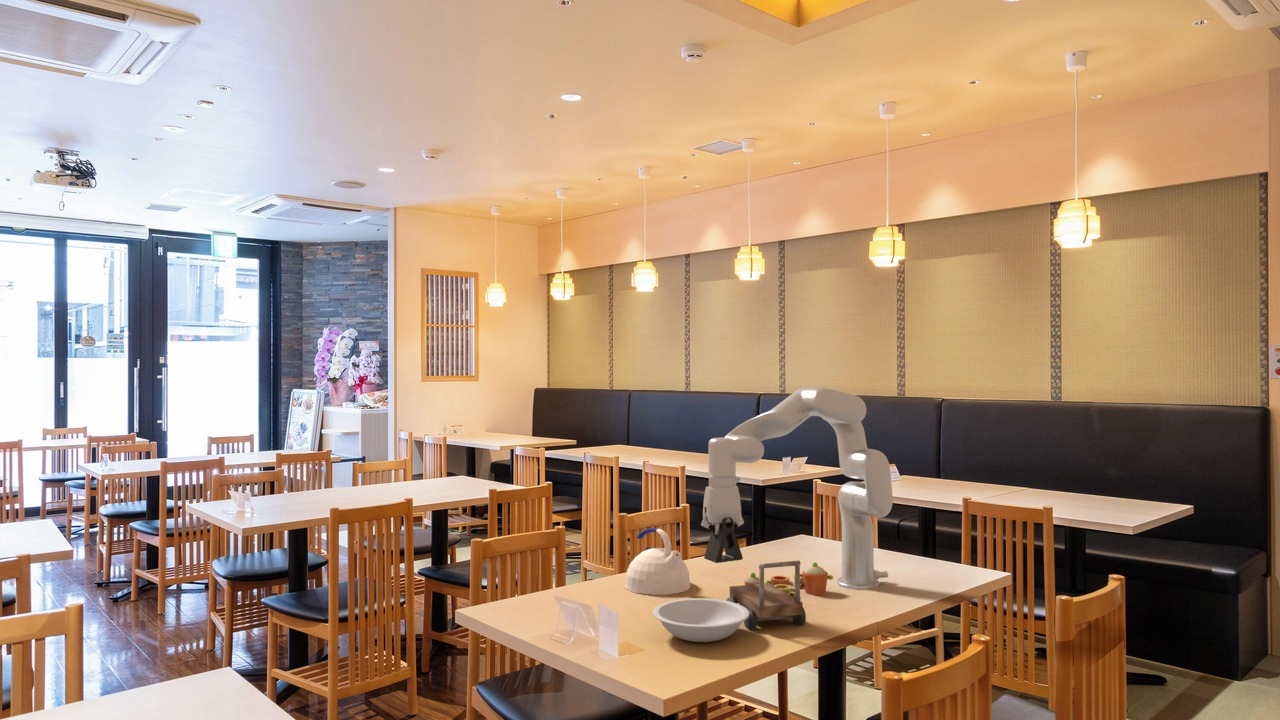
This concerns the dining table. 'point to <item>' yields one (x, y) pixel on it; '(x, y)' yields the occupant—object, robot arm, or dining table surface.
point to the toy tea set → (809, 579)
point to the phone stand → (717, 545)
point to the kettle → (658, 569)
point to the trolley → (769, 599)
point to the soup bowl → (701, 618)
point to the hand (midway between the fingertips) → (722, 547)
